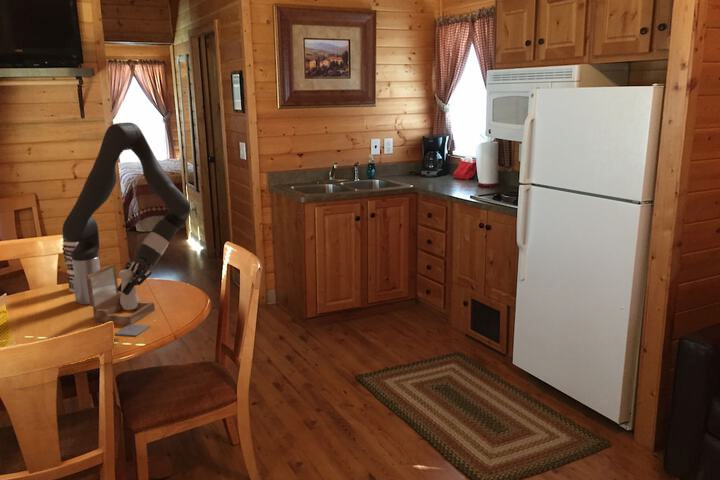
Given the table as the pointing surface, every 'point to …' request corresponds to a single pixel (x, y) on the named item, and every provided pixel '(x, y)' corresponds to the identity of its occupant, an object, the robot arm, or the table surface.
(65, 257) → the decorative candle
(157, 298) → the table surface
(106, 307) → the frame
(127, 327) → the plate
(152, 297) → the table surface
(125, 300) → the salt shaker
